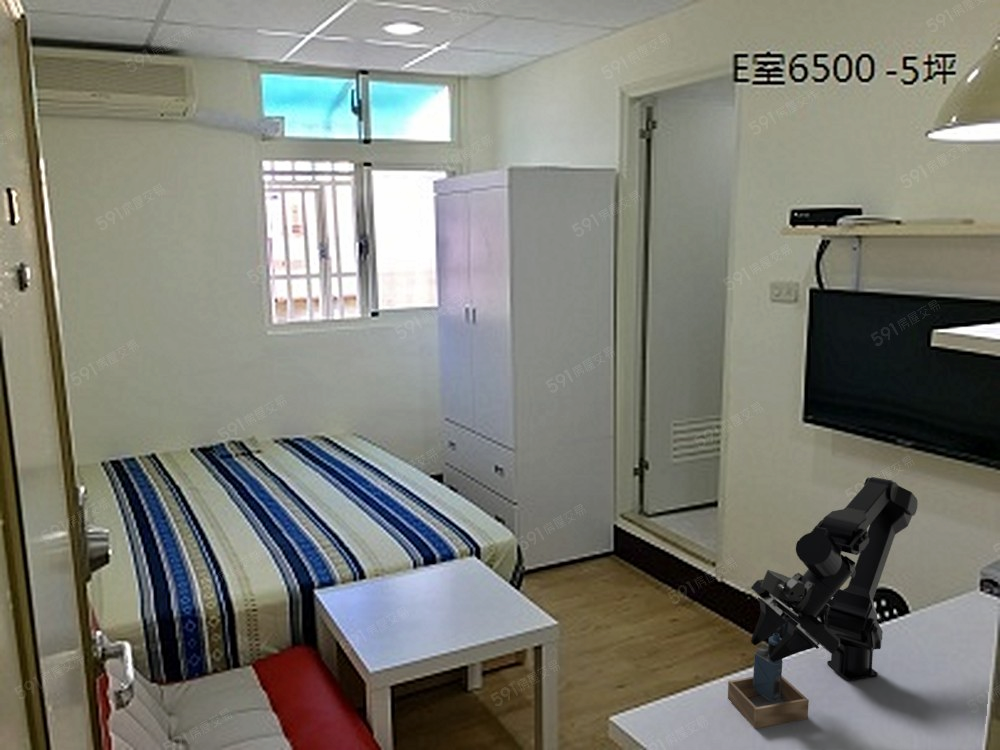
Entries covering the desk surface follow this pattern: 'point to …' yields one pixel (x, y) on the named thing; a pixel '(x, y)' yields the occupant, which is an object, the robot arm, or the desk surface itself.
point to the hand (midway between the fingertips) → (761, 651)
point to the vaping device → (767, 670)
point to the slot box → (771, 713)
